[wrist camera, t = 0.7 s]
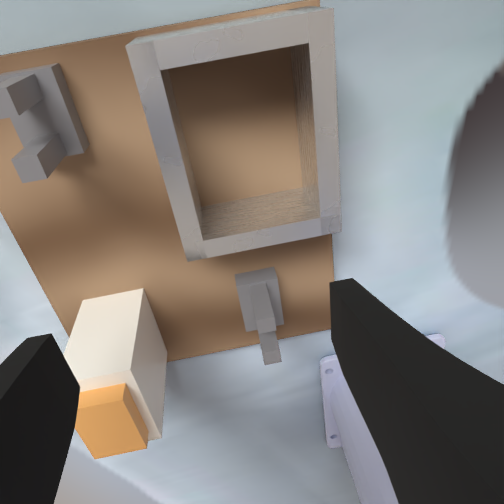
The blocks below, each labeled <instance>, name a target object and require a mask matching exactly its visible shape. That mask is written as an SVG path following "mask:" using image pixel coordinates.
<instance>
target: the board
mask: <svg viewBox="0 0 504 504" xmlns="http://www.w3.org/2000/svg"><path fill="white" fill-rule="evenodd" d="M305 6H317V7H320V0H303V1H298V2H292V3H287V4H281V5H275V6H270V7H264V8H259V9H253V10H248V11H242V12H237V13H231V14H226V15H220V16H215V17H209V18H204V19H198V20H193V21H187V22H182V23H176V24H171V25H165V26H160V27H154V28H149V29H143V30H138V31H132V32H127V33H121V34H116V35H110V36H105V37H99V38H94V39H88V40H83V41H77V42H72V43H66V44H61V45H55V46H50V47H44V48H39V49H33V50H28V51H22V52H17V53H11V54H6V55H0V74H2V73H6V72H12V71H17V70H23V69H28V68H33V67H39V66H44V65H50V64H55V63H59V64H60V67H61V70H62V72H63V75H64V78H65V80H66V83H67V86H68V88H69V91H70V94H71V96H72V99H73V102H74V104H75V107H76V110H77V112H78V115H79V118H80V120H81V123H82V126H83V128H84V131H85V134H86V136H87V139H88V142H89V144H90V145H89V147H88V148H87V149H86V151H85V152H84V153H82V154H76V155H71V156H66V157H64V158H63V159H62V161H61V162H60V163H59V164H58V166H57V167H56V168H55V170H54V171H53V172H52V173H51V175H50V176H49V177H48V179H43V180H38V181H33V182H27V183H22V181H21V179H20V177H19V175H18V173H17V171H16V169H15V167H14V165H13V163H12V161H11V159H12V158H13V157H14V156H15V155H17V154H18V153H19V152H20V151H21V150H22V149H23V148H24V147H23V145H22V143H21V141H20V139H19V136H18V134H17V132H16V130H15V128H14V126H13V124H12V121H11V119H10V118H5V119H0V212H1V213H2V215H3V217H4V219H5V221H6V223H7V224H8V226H9V228H10V230H11V232H12V234H13V235H14V237H15V239H16V241H17V243H18V245H19V246H20V248H21V250H22V252H23V254H24V256H25V257H26V259H27V261H28V263H29V265H30V267H31V268H32V270H33V272H34V274H35V276H36V278H37V279H38V281H39V283H40V285H41V287H42V289H43V290H44V292H45V294H46V296H47V298H48V300H49V301H50V303H51V305H52V307H53V309H54V311H55V312H56V314H57V316H58V318H59V320H60V321H61V323H62V325H63V327H64V329H65V331H66V332H67V334H68V336H69V338H70V335H71V332H72V329H73V326H74V324H75V321H76V318H77V315H78V312H79V309H80V307H81V304H82V301H83V300H87V299H92V298H97V297H102V296H107V295H112V294H117V293H122V292H127V291H132V290H137V289H142V288H144V291H145V294H146V296H147V299H148V302H149V304H150V307H151V310H152V312H153V315H154V318H155V320H156V323H157V326H158V328H159V331H160V334H161V336H162V339H163V342H164V344H165V347H166V350H167V362H171V361H175V360H180V359H185V358H190V357H195V356H200V355H205V354H210V353H215V352H220V351H225V350H230V349H235V348H239V347H244V346H249V345H254V344H259V343H260V339H259V334H258V330H254V331H249V332H246V329H245V324H244V319H243V315H242V310H241V306H240V301H239V296H238V292H237V287H236V281H235V275H234V274H239V273H244V272H249V271H254V270H259V269H264V268H269V267H274V268H275V272H276V275H277V278H278V285H279V292H280V299H281V306H282V313H283V320H284V324H283V325H278V326H276V331H275V333H276V337H277V340H279V339H284V338H289V337H294V336H298V335H303V334H308V333H313V332H318V331H323V330H328V329H331V315H330V289H329V282H334V270H333V250H332V234H327V235H322V236H317V237H312V238H307V239H301V240H296V241H291V242H286V243H281V244H276V245H271V246H266V247H261V248H256V249H251V250H246V251H241V252H236V253H230V254H225V255H220V256H215V257H210V258H205V259H200V260H195V261H190V262H187V259H186V255H185V252H184V248H183V245H182V241H181V238H180V234H179V231H178V227H177V224H176V221H175V217H174V214H173V210H172V207H171V203H170V200H169V196H168V193H167V189H166V186H165V182H164V179H163V175H162V172H161V168H160V165H159V161H158V158H157V154H156V151H155V147H154V144H153V141H152V137H151V134H150V130H149V127H148V123H147V120H146V116H145V113H144V109H143V106H142V102H141V99H140V95H139V92H138V88H137V85H136V81H135V78H134V74H133V71H132V68H131V64H130V61H129V57H128V54H127V50H126V47H125V46H126V45H127V44H128V43H130V42H131V41H132V40H134V39H135V38H136V37H140V36H146V35H151V34H157V33H162V32H168V31H173V30H179V29H184V28H190V27H195V26H201V25H206V24H212V23H217V22H223V21H228V20H234V19H239V18H245V17H250V16H256V15H261V14H267V13H272V12H278V11H283V10H289V9H294V8H300V7H305ZM168 72H169V76H170V80H171V84H172V88H173V92H174V96H175V100H176V104H177V109H178V113H179V117H180V121H181V125H182V129H183V133H184V137H185V141H186V146H187V150H188V154H189V158H190V162H191V166H192V170H193V174H194V178H195V183H196V187H197V191H198V195H199V199H200V203H201V207H203V206H208V205H213V204H219V203H224V202H229V201H234V200H239V199H244V198H250V197H255V196H260V195H265V194H270V193H275V192H280V191H286V190H291V189H296V188H301V187H303V184H302V173H301V162H300V151H299V140H298V129H297V118H296V106H295V95H294V84H293V73H292V62H291V51H290V46H289V47H284V48H278V49H273V50H268V51H262V52H257V53H251V54H246V55H240V56H235V57H230V58H224V59H219V60H213V61H208V62H202V63H197V64H192V65H186V66H181V67H175V68H170V69H168Z"/></svg>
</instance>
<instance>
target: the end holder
mask: <svg viewBox="0 0 504 504" xmlns="http://www.w3.org/2000/svg"><path fill="white" fill-rule="evenodd" d="M289 46H290V51H291V62H292V73H293V84H294V95H295V106H296V118H297V129H298V140H299V151H300V162H301V173H302V184H303V187H301V188H296V189H291V190H286V191H280V192H275V193H270V194H265V195H260V196H255V197H250V198H244V199H239V200H234V201H229V202H224V203H219V204H213V205H208V206H203V207H201V203H200V199H199V195H198V191H197V187H196V183H195V178H194V174H193V170H192V166H191V162H190V158H189V154H188V150H187V146H186V141H185V137H184V133H183V129H182V125H181V121H180V117H179V113H178V109H177V104H176V100H175V96H174V92H173V88H172V84H171V80H170V76H169V72H168V69H170V68H175V67H181V66H186V65H192V64H197V63H202V62H208V61H213V60H219V59H224V58H230V57H235V56H240V55H246V54H251V53H257V52H262V51H268V50H273V49H278V48H284V47H289ZM125 47H126V50H127V54H128V57H129V61H130V64H131V68H132V71H133V74H134V78H135V81H136V85H137V88H138V92H139V95H140V99H141V102H142V106H143V109H144V113H145V116H146V120H147V123H148V127H149V130H150V134H151V137H152V141H153V144H154V147H155V151H156V154H157V158H158V161H159V165H160V168H161V172H162V175H163V179H164V182H165V186H166V189H167V193H168V196H169V200H170V203H171V207H172V210H173V214H174V217H175V221H176V224H177V227H178V231H179V234H180V238H181V241H182V245H183V248H184V252H185V255H186V259H187V262H190V261H195V260H200V259H205V258H210V257H215V256H220V255H225V254H230V253H236V252H241V251H246V250H251V249H256V248H261V247H266V246H271V245H276V244H281V243H286V242H291V241H296V240H301V239H307V238H312V237H317V236H322V235H327V234H332V233H337V232H342V228H341V201H340V173H339V145H338V117H337V90H336V62H335V34H334V8H328V7H317V6H305V7H300V8H294V9H289V10H283V11H278V12H272V13H267V14H261V15H256V16H250V17H245V18H239V19H234V20H228V21H223V22H217V23H212V24H206V25H201V26H195V27H190V28H184V29H179V30H173V31H168V32H162V33H157V34H151V35H146V36H140V37H136V38H135V39H134V40H132V41H131V42H130V43H128V44H127V45H126V46H125Z"/></svg>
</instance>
